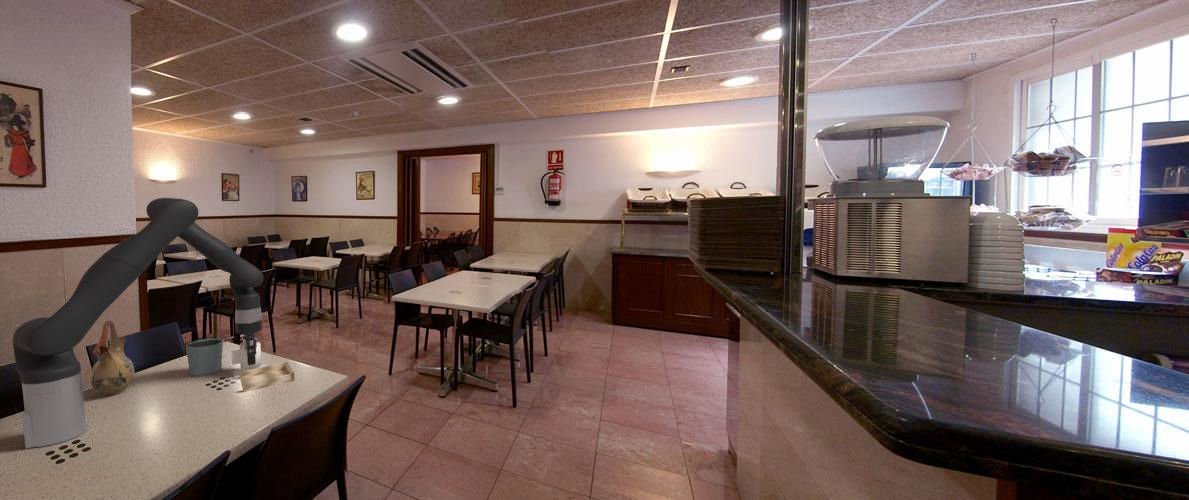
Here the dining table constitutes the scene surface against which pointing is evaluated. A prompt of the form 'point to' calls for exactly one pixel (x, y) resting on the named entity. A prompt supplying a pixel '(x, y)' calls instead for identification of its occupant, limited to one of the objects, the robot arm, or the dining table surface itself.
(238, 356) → the cream jug
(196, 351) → the teal plant pot
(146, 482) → the dining table surface
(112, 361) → the ceramic vessel
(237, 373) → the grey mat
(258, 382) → the beech holder
